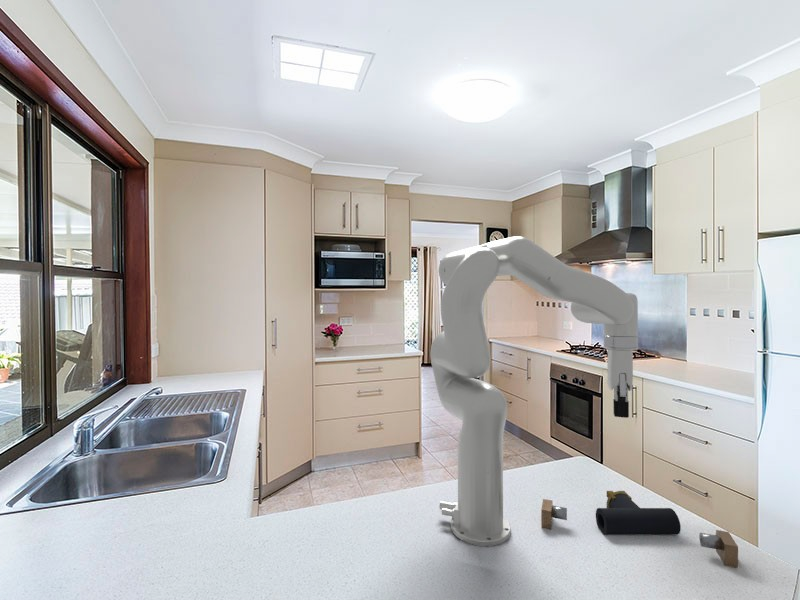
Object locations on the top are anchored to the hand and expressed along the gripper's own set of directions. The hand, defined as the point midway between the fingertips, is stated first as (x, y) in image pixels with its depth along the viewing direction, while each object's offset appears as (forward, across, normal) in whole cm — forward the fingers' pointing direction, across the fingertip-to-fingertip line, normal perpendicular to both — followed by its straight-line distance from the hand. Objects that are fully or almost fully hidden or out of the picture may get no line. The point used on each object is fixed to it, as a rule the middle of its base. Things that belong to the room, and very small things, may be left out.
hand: (621, 416), depth 102 cm
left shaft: (+20, +20, -15) cm, 32 cm away
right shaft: (+20, +20, +14) cm, 32 cm away
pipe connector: (+20, +14, 0) cm, 24 cm away
